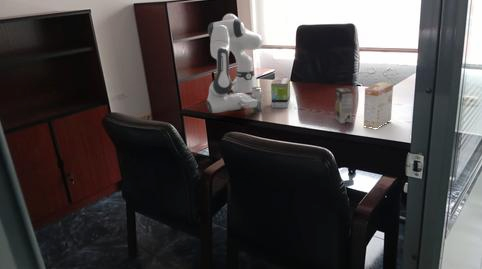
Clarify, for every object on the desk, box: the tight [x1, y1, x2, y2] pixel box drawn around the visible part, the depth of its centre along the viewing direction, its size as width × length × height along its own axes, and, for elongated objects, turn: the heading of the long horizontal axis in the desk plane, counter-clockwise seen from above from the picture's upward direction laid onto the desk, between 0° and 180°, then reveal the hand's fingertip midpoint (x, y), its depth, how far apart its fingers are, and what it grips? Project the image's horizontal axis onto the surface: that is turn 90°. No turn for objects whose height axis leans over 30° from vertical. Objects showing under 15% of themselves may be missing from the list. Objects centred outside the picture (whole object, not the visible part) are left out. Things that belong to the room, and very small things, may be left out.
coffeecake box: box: [363, 81, 394, 129], centre depth 194 cm, size 15×7×20 cm, turn 133°
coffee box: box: [334, 87, 354, 124], centre depth 204 cm, size 9×6×16 cm
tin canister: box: [251, 86, 263, 114], centre depth 228 cm, size 5×5×14 cm
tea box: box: [270, 77, 291, 109], centre depth 239 cm, size 15×10×15 cm, turn 168°
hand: (258, 98), depth 228 cm, fingers closed on tin canister, 5 cm apart
